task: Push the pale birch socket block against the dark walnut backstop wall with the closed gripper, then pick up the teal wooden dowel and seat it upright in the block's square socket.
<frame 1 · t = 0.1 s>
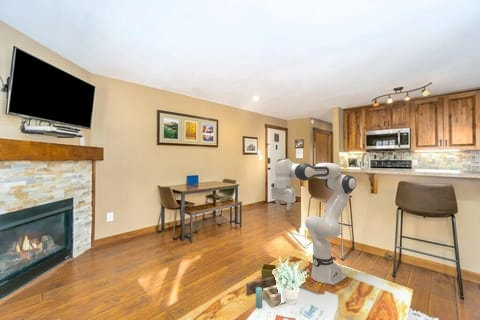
hand: (282, 208, 133), 48 cm above the table, fingers open, 8 cm apart
wall: (263, 289, 131), on the table
block: (274, 295, 121), point 2 cm above the table, slide at 0.0 cm
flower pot: (269, 281, 141), on the table
dowel: (259, 306, 116), on the table
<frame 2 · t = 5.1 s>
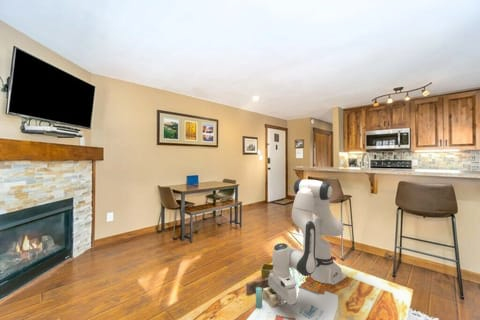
hand: (281, 303, 115), 2 cm above the table, fingers closed
block: (274, 295, 121), point 2 cm above the table, slide at 0.0 cm, touching gripper
everything else where it was.
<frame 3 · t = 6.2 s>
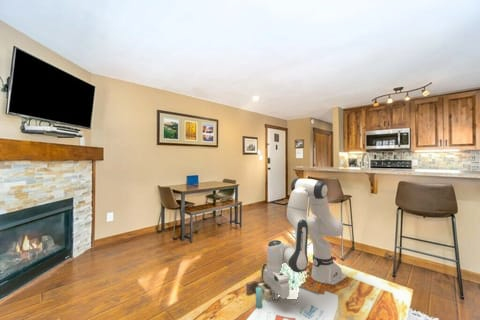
hand: (275, 297, 120), 2 cm above the table, fingers closed
block: (268, 290, 126), point 2 cm above the table, slide at 5.5 cm, touching gripper, wall
everything else where it was.
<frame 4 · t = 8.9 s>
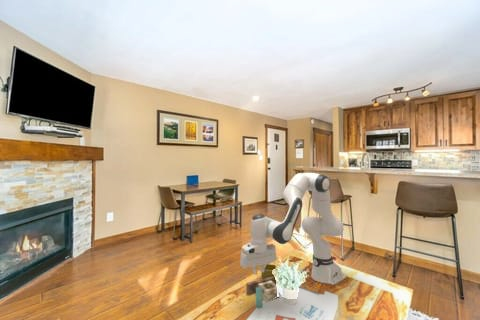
hand: (258, 272, 116), 17 cm above the table, fingers open, 3 cm apart
block: (268, 290, 126), point 2 cm above the table, slide at 5.5 cm
everything else where it was.
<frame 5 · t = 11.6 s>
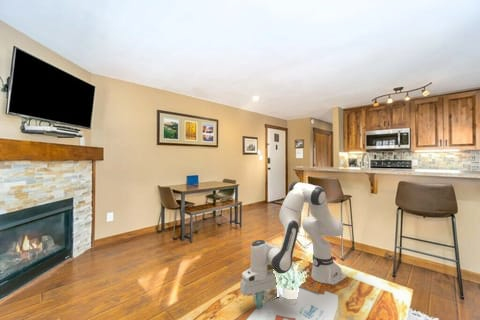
hand: (258, 299, 116), 4 cm above the table, fingers closed on dowel, 3 cm apart
dowel: (258, 306, 116), on the table, touching gripper
everything else where it was.
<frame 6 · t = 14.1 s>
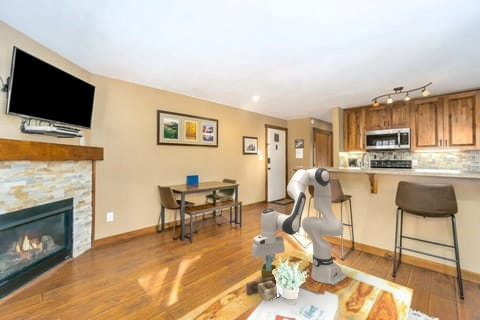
hand: (268, 262, 126), 18 cm above the table, fingers closed on dowel, 3 cm apart
dowel: (268, 268, 126), point 15 cm above the table, touching gripper
everything else where it was.
when the fingers open (6 cm above the table, at t = 17.0 s): dowel drops 1 cm, resting on block.
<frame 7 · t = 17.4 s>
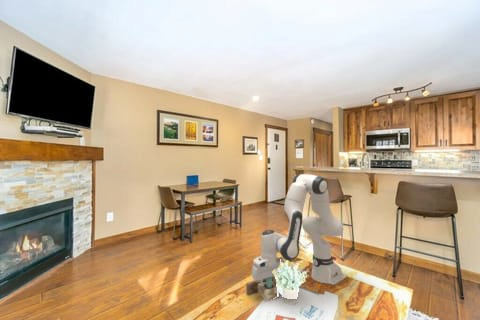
hand: (268, 284, 126), 6 cm above the table, fingers open, 7 cm apart
block: (268, 290, 126), point 2 cm above the table, slide at 5.5 cm, touching dowel
dowel: (268, 293, 126), point 1 cm above the table, touching block
everything else where it was.
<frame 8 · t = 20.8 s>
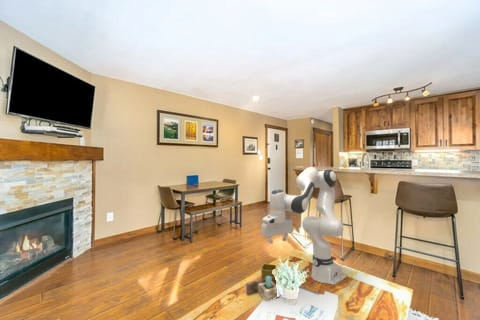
hand: (277, 242, 129), 29 cm above the table, fingers open, 8 cm apart
nothing on the table moved.
at the end: block slide at 5.5 cm; dowel 0.2 cm off-centre on the block, point 1.0 cm above the block's base; dowel tilted 1° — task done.
